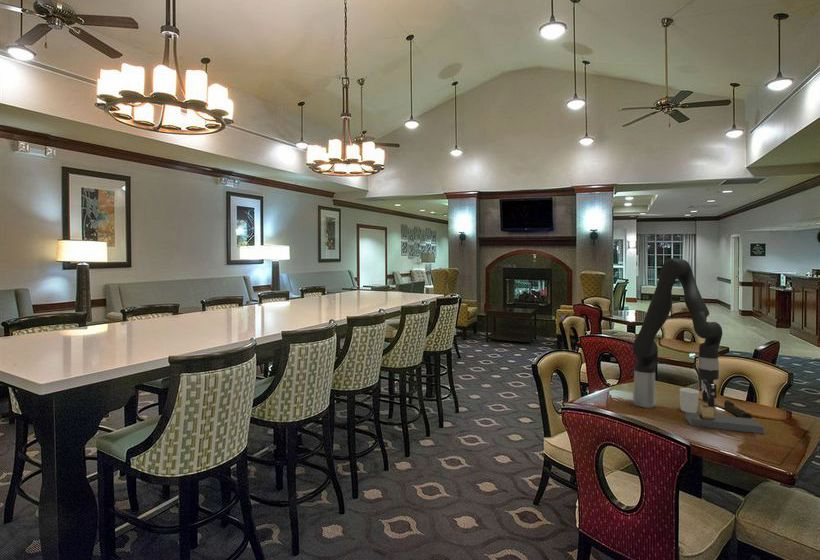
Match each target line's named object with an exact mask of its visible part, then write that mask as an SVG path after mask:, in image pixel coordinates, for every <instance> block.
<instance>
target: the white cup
mask: <svg viewBox="0 0 820 560" xmlns="http://www.w3.org/2000/svg"><path fill="white" fill-rule="evenodd" d="M699 396H700V391H699V390H697V389H694V388H689V387H688V388H687V387H682V388H679V402H680V403H679V404H680V410H681V411H682V412H685V413H686V412H691V413H698V405H699V399H700V397H699Z"/></svg>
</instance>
